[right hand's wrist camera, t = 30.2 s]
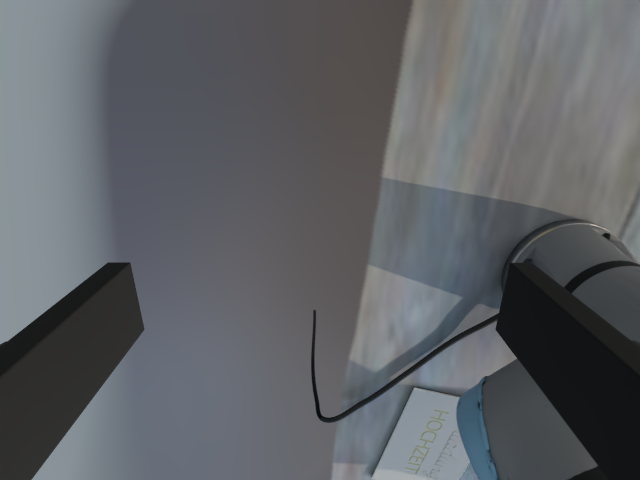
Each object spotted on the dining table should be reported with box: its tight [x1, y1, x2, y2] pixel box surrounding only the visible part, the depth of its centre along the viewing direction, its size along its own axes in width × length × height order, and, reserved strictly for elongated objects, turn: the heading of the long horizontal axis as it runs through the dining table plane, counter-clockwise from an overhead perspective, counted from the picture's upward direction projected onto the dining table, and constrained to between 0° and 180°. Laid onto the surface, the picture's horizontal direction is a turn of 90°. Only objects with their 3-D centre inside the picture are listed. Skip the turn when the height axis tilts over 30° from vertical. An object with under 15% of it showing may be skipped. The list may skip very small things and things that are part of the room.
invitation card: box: [371, 387, 470, 480], centre depth 61 cm, size 21×1×15 cm
